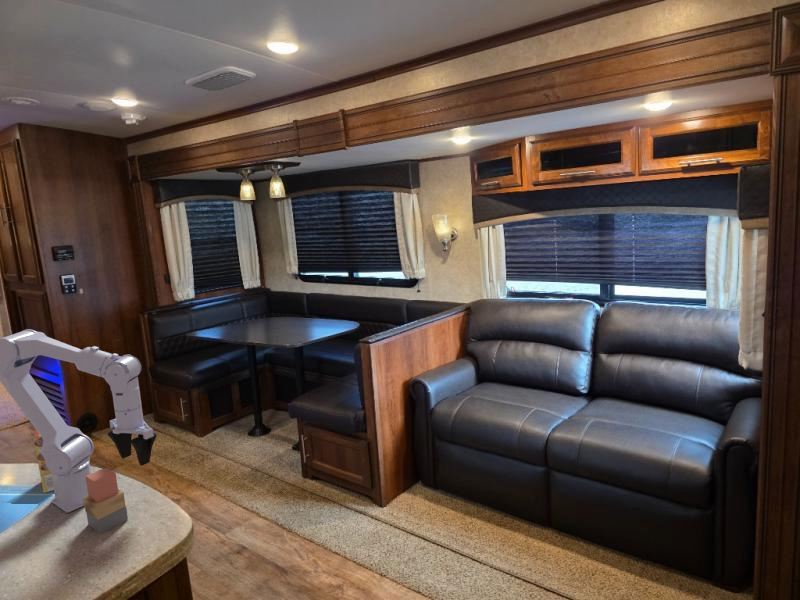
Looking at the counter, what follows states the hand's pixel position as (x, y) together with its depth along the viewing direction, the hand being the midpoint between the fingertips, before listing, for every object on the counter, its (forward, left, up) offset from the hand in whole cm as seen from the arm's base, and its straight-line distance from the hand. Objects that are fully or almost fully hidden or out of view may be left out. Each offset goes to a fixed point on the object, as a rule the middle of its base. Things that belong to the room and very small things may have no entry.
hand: (135, 460), depth 126 cm
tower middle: (+3, -9, -7) cm, 12 cm away
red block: (+3, -9, -3) cm, 10 cm away
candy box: (-28, -9, -11) cm, 31 cm away
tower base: (+3, -9, -11) cm, 14 cm away
